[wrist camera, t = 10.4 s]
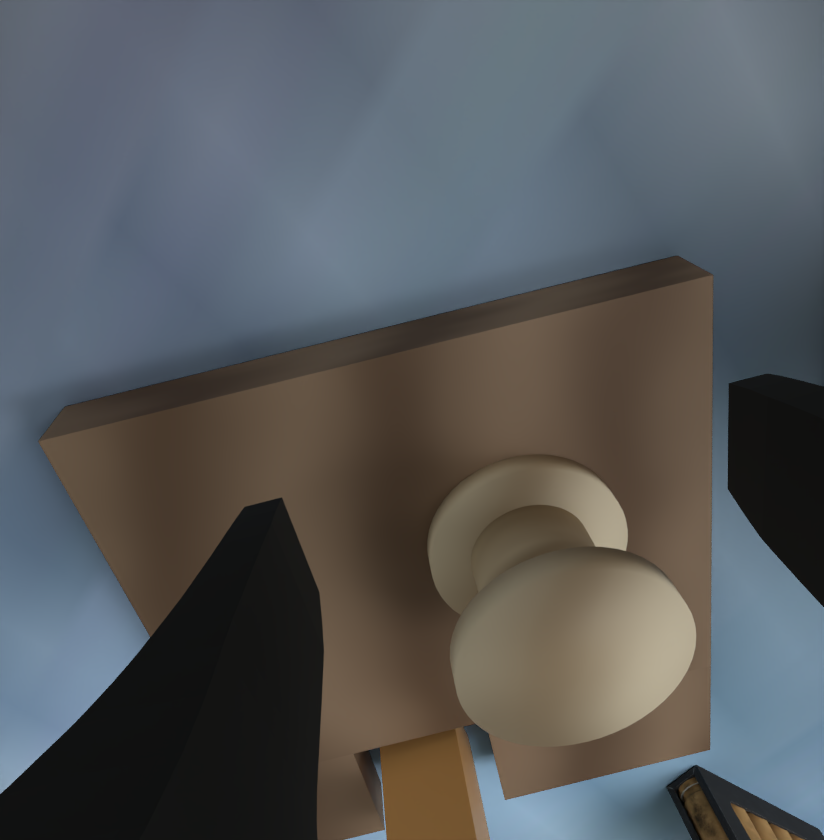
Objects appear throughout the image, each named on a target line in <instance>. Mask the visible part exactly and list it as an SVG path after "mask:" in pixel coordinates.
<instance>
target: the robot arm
mask: <svg viewBox="0 0 824 840" xmlns="http://www.w3.org/2000/svg"><path fill="white" fill-rule="evenodd" d="M728 490H729V491H730V493H731V495H732V496H733V498H734V499H735V501H736V502H737V504H738V505H739V507H740V508H741V510H742V511H743V513H744V514H745V516H746V517H747V519H748V520H749V522H750V523H751V524H752V526H753V527H754V529H755V530H756V531H757V533H758V534H759V536H760V537H761V538H762V540H763V541H764V542H765V543H766V544H767V545H768V546H769V548H770V549H771V550H772V551H773V552H774V553H775V554H776V555H777V557H778V558H779V559H780V560H781V561H782V562H783V563H784V564H785V565H786V567H787V568H788V569H789V570H790V571H791V572H792V573H793V574H794V575H795V577H796V578H797V579H798V580H799V581H800V582H801V583H802V584H803V585H804V586H805V587H806V588H807V590H808V591H809V592H810V593H811V594H812V595H813V596H814V597H815V598H816V599H817V600H818V601H819V603H820V604H821V605H822V606H823V607H824V387H823V386H819V385H815V384H812V383H808V382H804V381H800V380H796V379H792V378H787V377H783V376H777V375H772V374H764V375H760V376H756V377H752V378H748V379H744V380H740V381H736V382H732V383H729V416H728ZM323 665H324V642H323V627H322V615H321V603H320V592H319V590H318V587H317V585H316V582H315V580H314V577H313V575H312V572H311V570H310V567H309V565H308V562H307V560H306V557H305V554H304V552H303V549H302V547H301V544H300V542H299V539H298V537H297V534H296V532H295V529H294V527H293V524H292V522H291V519H290V516H289V514H288V511H287V509H286V506H285V504H284V501H283V499H282V497H281V498H277V499H273V500H269V501H265V502H262V503H258V504H254V505H250V506H246V507H244V508H243V510H242V511H241V512H240V514H239V515H238V516H237V518H236V519H235V521H234V522H233V524H232V525H231V526H230V528H229V529H228V531H227V532H226V534H225V535H224V537H223V538H222V540H221V541H220V543H219V544H218V546H217V547H216V549H215V550H214V552H213V553H212V555H211V556H210V558H209V559H208V560H207V562H206V563H205V565H204V566H203V568H202V569H201V570H200V572H199V573H198V575H197V576H196V578H195V579H194V580H193V582H192V583H191V585H190V586H189V587H188V589H187V590H186V592H185V593H184V595H183V596H182V597H181V599H180V600H179V601H178V603H177V604H176V605H175V606H174V608H173V609H172V610H171V612H170V613H169V614H168V615H167V617H166V618H165V619H164V621H163V622H162V623H161V624H160V626H159V627H158V628H157V630H156V631H155V632H154V633H153V635H152V636H151V637H150V639H149V640H148V641H147V642H146V644H145V645H144V646H143V648H142V649H141V650H140V651H139V653H138V654H137V655H136V656H135V657H134V659H133V660H132V661H131V662H130V663H129V665H128V666H127V667H126V668H125V669H124V670H123V671H122V673H121V674H120V675H119V676H118V677H117V678H116V679H115V681H114V682H113V683H112V684H111V685H110V686H109V687H108V688H107V689H106V690H105V691H104V693H103V694H102V695H101V696H100V697H99V698H98V699H97V700H96V701H95V702H94V703H93V704H92V706H91V707H90V708H89V709H88V710H87V711H86V712H85V713H84V714H83V715H82V716H81V717H80V718H79V719H78V720H77V721H76V722H75V723H74V724H73V725H72V726H71V727H70V728H69V729H68V730H67V731H66V732H65V733H64V734H63V735H62V736H61V737H60V738H59V739H58V740H57V741H56V742H55V743H54V744H53V745H52V746H51V747H50V748H49V749H47V750H46V751H45V752H44V753H43V754H42V755H41V756H40V757H39V758H38V759H37V760H36V761H35V762H34V763H33V764H32V765H31V766H30V767H29V768H28V769H27V770H26V771H25V772H24V773H22V774H21V775H20V776H19V777H18V778H17V779H16V780H15V781H14V782H13V783H12V784H11V785H10V786H9V787H8V788H7V789H6V790H4V791H3V792H2V793H1V794H0V840H318V839H317V782H318V763H319V744H320V725H321V707H322V686H323Z"/></svg>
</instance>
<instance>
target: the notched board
mask: <svg viewBox="0 0 824 840" xmlns="http://www.w3.org/2000/svg"><path fill="white" fill-rule="evenodd" d="M712 381H713V275H712V274H711V273H709V272H707V271H705V270H703V269H701V268H700V267H698V266H696V265H694V264H692V263H690V262H688V261H687V260H685V259H683V258H681V257H679V256H674V257H670V258H665V259H661V260H657V261H653V262H649V263H645V264H641V265H637V266H633V267H629V268H625V269H621V270H617V271H613V272H609V273H605V274H601V275H597V276H593V277H588V278H584V279H580V280H576V281H572V282H568V283H564V284H560V285H556V286H552V287H548V288H544V289H540V290H536V291H532V292H528V293H524V294H520V295H516V296H511V297H507V298H503V299H499V300H495V301H491V302H487V303H483V304H479V305H475V306H471V307H467V308H463V309H459V310H455V311H451V312H447V313H443V314H439V315H434V316H430V317H426V318H422V319H418V320H414V321H410V322H406V323H402V324H398V325H394V326H390V327H386V328H382V329H378V330H374V331H370V332H366V333H362V334H357V335H353V336H349V337H345V338H341V339H337V340H333V341H329V342H325V343H321V344H317V345H313V346H309V347H305V348H301V349H297V350H293V351H289V352H285V353H280V354H276V355H272V356H268V357H264V358H260V359H256V360H252V361H248V362H244V363H240V364H236V365H232V366H228V367H224V368H220V369H216V370H212V371H208V372H203V373H199V374H195V375H191V376H187V377H183V378H179V379H175V380H171V381H167V382H163V383H159V384H155V385H151V386H147V387H143V388H139V389H135V390H131V391H126V392H122V393H118V394H114V395H110V396H106V397H102V398H98V399H94V400H90V401H86V402H82V403H78V404H74V405H70V406H66V407H64V408H63V410H62V411H61V412H60V413H59V415H58V416H57V417H56V419H55V420H54V421H53V423H52V424H51V425H50V427H49V428H48V429H47V431H46V432H45V433H44V434H43V436H42V437H41V438H40V440H39V441H38V442H39V444H40V446H41V447H42V449H43V451H44V453H45V454H46V456H47V458H48V459H49V461H50V463H51V465H52V466H53V468H54V470H55V472H56V473H57V475H58V477H59V479H60V480H61V482H62V484H63V486H64V487H65V489H66V491H67V493H68V494H69V496H70V498H71V500H72V501H73V503H74V505H75V507H76V508H77V510H78V512H79V513H80V515H81V517H82V519H83V520H84V522H85V524H86V526H87V527H88V529H89V531H90V533H91V534H92V536H93V538H94V540H95V541H96V543H97V545H98V547H99V548H100V550H101V552H102V554H103V555H104V557H105V559H106V561H107V562H108V564H109V566H110V568H111V569H112V571H113V573H114V574H115V576H116V578H117V580H118V581H119V583H120V585H121V587H122V588H123V590H124V592H125V594H126V595H127V597H128V599H129V601H130V602H131V604H132V606H133V608H134V609H135V611H136V613H137V615H138V616H139V618H140V620H141V622H142V623H143V625H144V627H145V628H146V630H147V632H148V634H149V635H150V637H151V636H152V635H153V633H154V632H155V631H156V630H157V628H158V627H159V626H160V624H161V623H162V622H163V621H164V619H165V618H166V617H167V615H168V614H169V613H170V612H171V610H172V609H173V608H174V606H175V605H176V604H177V603H178V601H179V600H180V599H181V597H182V596H183V595H184V593H185V592H186V590H187V589H188V587H189V586H190V585H191V583H192V582H193V580H194V579H195V578H196V576H197V575H198V573H199V572H200V570H201V569H202V568H203V566H204V565H205V563H206V562H207V560H208V559H209V558H210V556H211V555H212V553H213V552H214V550H215V549H216V547H217V546H218V544H219V543H220V541H221V540H222V538H223V537H224V535H225V534H226V532H227V531H228V529H229V528H230V526H231V525H232V524H233V522H234V521H235V519H236V518H237V516H238V515H239V514H240V512H241V511H242V510H243V508H244V507H246V506H250V505H254V504H258V503H262V502H265V501H269V500H273V499H277V498H281V497H282V499H283V501H284V504H285V506H286V509H287V511H288V514H289V516H290V519H291V522H292V524H293V527H294V529H295V532H296V534H297V537H298V539H299V542H300V544H301V547H302V549H303V552H304V554H305V557H306V560H307V562H308V565H309V567H310V570H311V572H312V575H313V577H314V580H315V582H316V585H317V587H318V590H319V592H320V603H321V615H322V627H323V642H324V665H323V686H322V707H321V725H320V744H319V763H318V782H317V839H318V840H344V839H348V838H353V837H357V836H361V835H365V834H369V833H373V832H377V831H381V830H385V828H384V815H383V802H382V790H381V782H380V779H379V777H378V774H377V771H376V769H375V766H374V764H373V761H372V759H371V756H370V754H369V751H368V750H371V749H375V748H379V747H383V746H387V745H391V744H395V743H399V742H403V741H407V740H411V739H415V738H420V737H424V736H428V735H432V734H436V733H440V732H444V731H448V730H452V729H456V728H460V727H464V726H468V725H472V724H475V723H474V722H473V721H472V720H471V719H470V717H469V716H468V715H467V714H466V712H465V711H464V709H463V708H462V706H461V704H460V701H459V699H458V696H457V692H456V687H455V683H454V678H453V673H452V668H451V662H450V644H451V639H452V634H453V631H454V629H455V626H456V623H457V621H458V620H459V618H460V616H461V615H460V614H458V613H457V612H455V611H454V610H453V609H452V608H451V607H450V606H449V605H448V604H447V603H446V602H445V601H444V600H443V598H442V597H441V596H440V594H439V592H438V590H437V589H436V586H435V583H434V581H433V577H432V573H431V568H430V563H429V558H428V552H427V540H428V533H429V529H430V525H431V522H432V519H433V517H434V515H435V513H436V511H437V509H438V508H439V506H440V505H441V503H442V502H443V500H444V499H445V498H446V497H447V495H448V494H449V493H450V492H451V491H452V490H453V489H454V488H455V487H456V486H457V485H458V484H459V483H460V482H462V481H463V480H464V479H466V478H467V477H469V476H470V475H471V474H473V473H475V472H476V471H478V470H480V469H482V468H484V467H486V466H488V465H490V464H493V463H495V462H498V461H501V460H504V459H508V458H512V457H517V456H522V455H534V454H541V455H553V456H559V457H564V458H567V459H570V460H574V461H576V462H578V463H580V464H582V465H584V466H586V467H587V468H589V469H591V470H592V471H594V472H595V473H596V474H597V475H598V476H599V477H600V478H601V479H602V480H603V481H604V482H605V484H606V485H607V486H608V488H609V489H610V491H611V492H612V494H613V495H614V497H615V498H616V500H617V501H618V503H619V505H620V506H621V508H622V510H623V512H624V515H625V518H626V522H627V529H628V542H627V548H626V551H627V552H631V553H633V554H636V555H638V556H641V557H643V558H645V559H647V560H648V561H650V562H652V563H653V564H655V565H656V566H657V567H658V568H659V569H661V570H662V571H663V572H664V573H665V574H666V575H667V577H668V578H669V579H670V580H671V582H672V583H673V585H674V586H675V588H676V589H677V591H678V592H679V594H680V595H681V597H682V598H683V600H684V601H685V603H686V604H687V606H688V608H689V610H690V611H691V613H692V616H693V619H694V622H695V627H696V647H695V651H694V655H693V659H692V661H691V664H690V666H689V668H688V671H687V672H686V674H685V676H684V677H683V679H682V681H681V682H680V683H679V685H678V686H677V687H676V689H675V690H674V691H673V692H672V693H671V694H670V695H669V696H668V697H667V698H666V699H665V701H664V702H662V703H661V704H660V705H659V706H658V707H656V708H655V709H654V710H653V711H652V712H650V713H649V714H647V715H646V716H644V717H643V718H642V719H640V720H638V721H636V722H635V723H633V724H631V725H630V726H628V727H626V728H624V729H621V730H619V731H617V732H615V733H612V734H610V735H607V736H604V737H602V738H599V739H595V740H592V741H588V742H584V743H579V744H574V745H566V746H556V747H539V746H527V745H521V744H516V743H512V742H509V741H505V740H503V739H500V738H498V737H495V736H493V735H491V734H490V733H489V737H490V741H491V745H492V749H493V753H494V757H495V761H496V765H497V769H498V773H499V777H500V782H501V786H502V790H503V794H504V798H505V800H507V799H511V798H515V797H519V796H523V795H528V794H532V793H536V792H540V791H544V790H548V789H552V788H556V787H560V786H564V785H568V784H572V783H576V782H580V781H584V780H589V779H593V778H597V777H601V776H605V775H609V774H613V773H617V772H621V771H625V770H629V769H633V768H637V767H641V766H645V765H650V764H654V763H658V762H662V761H666V760H670V759H674V758H678V757H682V756H686V755H690V754H694V753H698V752H702V751H707V750H710V682H711V532H712Z"/></svg>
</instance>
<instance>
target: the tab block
mask: <svg viewBox="0 0 824 840" xmlns="http://www.w3.org/2000/svg"><path fill="white" fill-rule="evenodd" d="M380 757H381V770H382V783H383V795H384V808H385V821H386V834H387V840H490V837H489V832H488V827H487V823H486V818H485V813H484V808H483V804H482V799H481V794H480V790H479V785H478V780H477V775H476V771H475V766H474V761H473V756H472V752H471V747H470V742H469V738H468V735H467V733H466V731H465V729H464V727H460V728H456V729H452V730H448V731H444V732H440V733H436V734H432V735H428V736H424V737H420V738H415V739H411V740H407V741H403V742H399V743H395V744H391V745H387V746H383V747H380Z"/></svg>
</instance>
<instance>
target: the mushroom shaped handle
mask: <svg viewBox="0 0 824 840" xmlns="http://www.w3.org/2000/svg"><path fill="white" fill-rule="evenodd" d="M627 542H628V529H627V522H626V518H625V515H624V512H623V510H622V508H621V506H620V505H619V503H618V501H617V500H616V498H615V497H614V495H613V494H612V492H611V491H610V489H609V488H608V486H607V485H606V484H605V482H604V481H603V480H602V479H601V478H600V477H599V476H598V475H597V474H596V473H595V472H594V471H592V470H591V469H589V468H587V467H586V466H584V465H582V464H580V463H578V462H576V461H574V460H570V459H567V458H564V457H559V456H553V455H541V454H534V455H522V456H517V457H512V458H508V459H504V460H501V461H498V462H495V463H493V464H490V465H488V466H486V467H484V468H482V469H480V470H478V471H476V472H475V473H473V474H471V475H470V476H469V477H467V478H466V479H464V480H463V481H462V482H460V483H459V484H458V485H457V486H456V487H455V488H454V489H453V490H452V491H451V492H450V493H449V494H448V495H447V497H446V498H445V499H444V500H443V502H442V503H441V505H440V506H439V508H438V509H437V511H436V513H435V515H434V517H433V519H432V522H431V525H430V529H429V533H428V540H427V552H428V558H429V563H430V568H431V573H432V577H433V581H434V583H435V586H436V589H437V590H438V592H439V594H440V596H441V597H442V598H443V600H444V601H445V602H446V603H447V604H448V605H449V606H450V607H451V608H452V609H453V610H454V611H455V612H457V613H458V614H460V615H461V616H460V618H459V620H458V621H457V623H456V626H455V629H454V631H453V634H452V639H451V644H450V662H451V668H452V673H453V678H454V683H455V687H456V692H457V696H458V699H459V701H460V704H461V706H462V708H463V709H464V711H465V712H466V714H467V715H468V716H469V717H470V719H471V720H472V721H473V722H474V723H475V724H476V725H478V726H479V727H480V728H481V729H483V730H484V731H486V732H488V733H490V734H491V735H493V736H495V737H498V738H500V739H503V740H505V741H509V742H512V743H516V744H521V745H527V746H539V747H556V746H566V745H574V744H579V743H584V742H588V741H592V740H595V739H599V738H602V737H604V736H607V735H610V734H612V733H615V732H617V731H619V730H621V729H624V728H626V727H628V726H630V725H631V724H633V723H635V722H636V721H638V720H640V719H642V718H643V717H644V716H646V715H647V714H649V713H650V712H652V711H653V710H654V709H655V708H656V707H658V706H659V705H660V704H661V703H662V702H664V701H665V699H666V698H667V697H668V696H669V695H670V694H671V693H672V692H673V691H674V690H675V689H676V687H677V686H678V685H679V683H680V682H681V681H682V679H683V677H684V676H685V674H686V672H687V671H688V668H689V666H690V664H691V661H692V659H693V655H694V651H695V647H696V627H695V622H694V619H693V616H692V613H691V611H690V610H689V608H688V606H687V604H686V603H685V601H684V600H683V598H682V597H681V595H680V594H679V592H678V591H677V589H676V588H675V586H674V585H673V583H672V582H671V580H670V579H669V578H668V577H667V575H666V574H665V573H664V572H663V571H662V570H661V569H659V568H658V567H657V566H656V565H655V564H653V563H652V562H650V561H648V560H647V559H645V558H643V557H641V556H638V555H636V554H633V553H631V552H627V551H626V548H627Z"/></svg>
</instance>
